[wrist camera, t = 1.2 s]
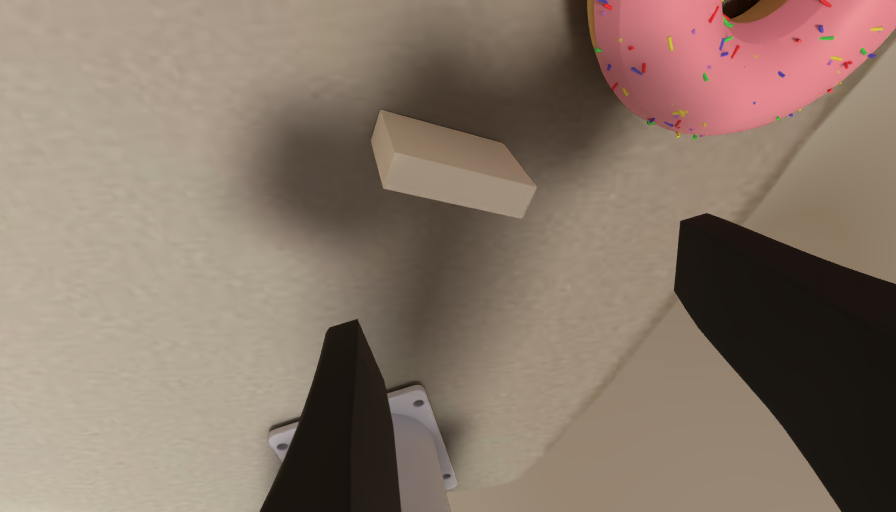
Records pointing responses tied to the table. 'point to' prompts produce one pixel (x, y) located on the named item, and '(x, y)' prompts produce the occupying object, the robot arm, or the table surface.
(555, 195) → the table surface
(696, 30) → the doughnut
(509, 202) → the eraser
